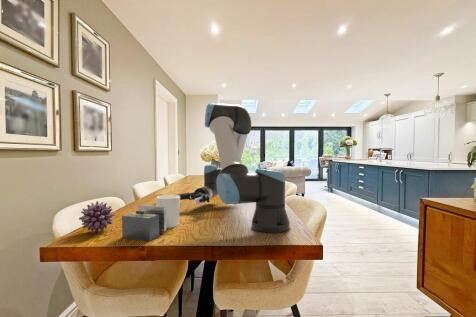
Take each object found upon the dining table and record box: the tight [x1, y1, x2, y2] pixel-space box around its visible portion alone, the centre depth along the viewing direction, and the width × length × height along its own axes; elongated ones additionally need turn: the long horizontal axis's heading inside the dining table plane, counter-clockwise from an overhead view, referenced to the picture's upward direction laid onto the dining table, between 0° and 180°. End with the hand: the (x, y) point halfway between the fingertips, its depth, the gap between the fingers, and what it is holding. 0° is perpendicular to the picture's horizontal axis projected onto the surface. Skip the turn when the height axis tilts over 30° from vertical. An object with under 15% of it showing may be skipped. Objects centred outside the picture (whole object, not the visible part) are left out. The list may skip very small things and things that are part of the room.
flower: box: [78, 200, 116, 233], centre depth 93 cm, size 12×12×12 cm
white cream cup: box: [155, 194, 181, 229], centre depth 101 cm, size 10×10×12 cm
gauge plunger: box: [135, 204, 167, 232], centre depth 89 cm, size 12×7×9 cm, turn 71°
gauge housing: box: [121, 212, 160, 242], centre depth 87 cm, size 12×5×8 cm, turn 71°
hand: (182, 201), depth 113 cm, fingers open, 13 cm apart
